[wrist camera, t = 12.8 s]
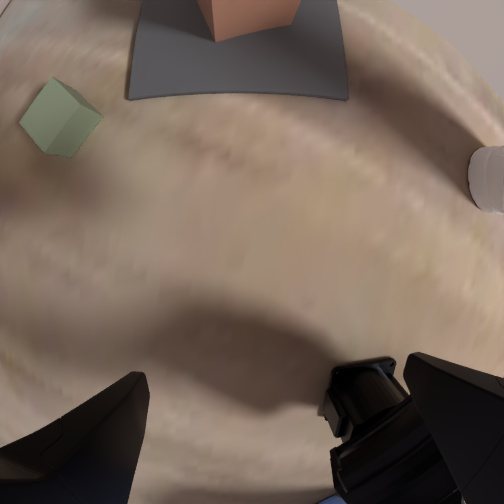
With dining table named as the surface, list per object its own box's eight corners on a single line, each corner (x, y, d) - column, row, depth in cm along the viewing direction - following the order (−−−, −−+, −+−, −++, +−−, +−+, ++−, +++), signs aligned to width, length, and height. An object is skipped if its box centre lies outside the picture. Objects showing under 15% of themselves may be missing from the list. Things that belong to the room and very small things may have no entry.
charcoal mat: (327, -37, 16) (328, -40, 15) (346, 100, 19) (348, 99, 19) (154, -40, 15) (153, -42, 14) (130, 100, 18) (128, 98, 18)
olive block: (104, 117, 18) (80, 104, 14) (72, 157, 19) (44, 153, 15) (77, 91, 17) (52, 76, 14) (47, 129, 18) (19, 122, 14)
